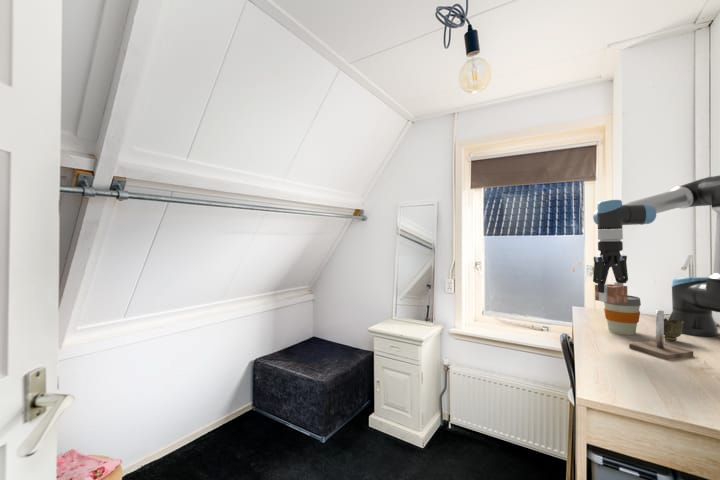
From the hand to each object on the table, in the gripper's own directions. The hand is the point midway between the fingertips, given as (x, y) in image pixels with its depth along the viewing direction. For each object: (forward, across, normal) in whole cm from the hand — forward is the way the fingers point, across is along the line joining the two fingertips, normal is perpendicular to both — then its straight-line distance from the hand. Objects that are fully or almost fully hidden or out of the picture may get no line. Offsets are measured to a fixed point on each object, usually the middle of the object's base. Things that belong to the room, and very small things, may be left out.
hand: (611, 300), depth 124 cm
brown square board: (+17, -7, +12) cm, 21 cm away
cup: (+17, -25, +4) cm, 30 cm away
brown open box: (0, 0, 0) cm, 0 cm away
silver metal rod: (+15, -7, +12) cm, 20 cm away
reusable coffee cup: (+17, -19, -10) cm, 27 cm away
